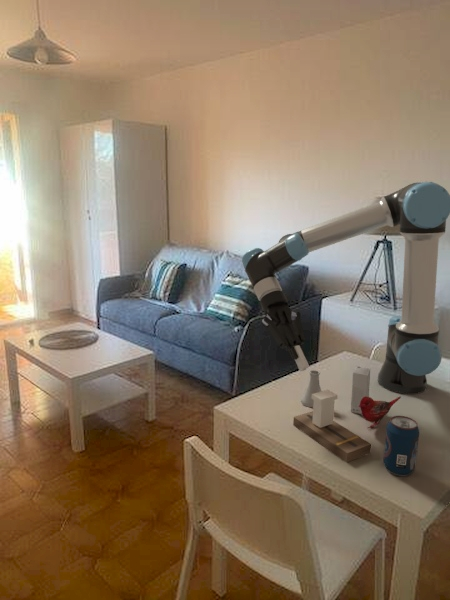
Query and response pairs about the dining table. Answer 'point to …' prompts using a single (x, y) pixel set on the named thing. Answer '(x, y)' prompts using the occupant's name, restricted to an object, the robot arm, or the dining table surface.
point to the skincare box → (359, 387)
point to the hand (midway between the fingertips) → (304, 368)
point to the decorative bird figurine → (375, 409)
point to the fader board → (334, 438)
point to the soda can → (401, 445)
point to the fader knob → (323, 408)
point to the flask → (311, 388)
